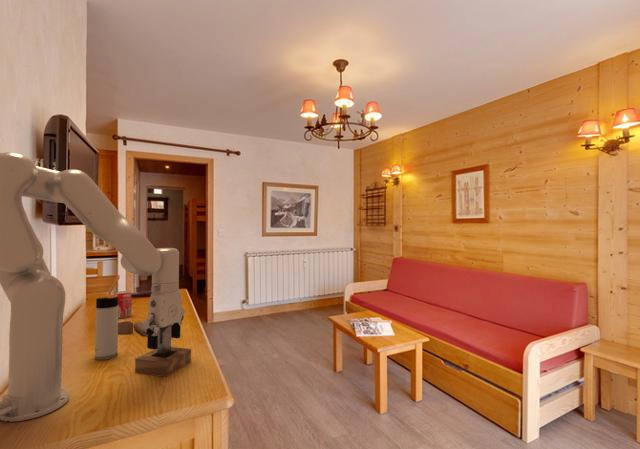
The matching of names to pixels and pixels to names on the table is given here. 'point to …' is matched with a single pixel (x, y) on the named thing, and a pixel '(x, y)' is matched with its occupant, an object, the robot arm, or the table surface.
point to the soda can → (124, 304)
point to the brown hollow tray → (162, 362)
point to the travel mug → (106, 328)
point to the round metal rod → (164, 342)
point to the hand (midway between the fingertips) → (164, 342)
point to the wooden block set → (130, 328)
